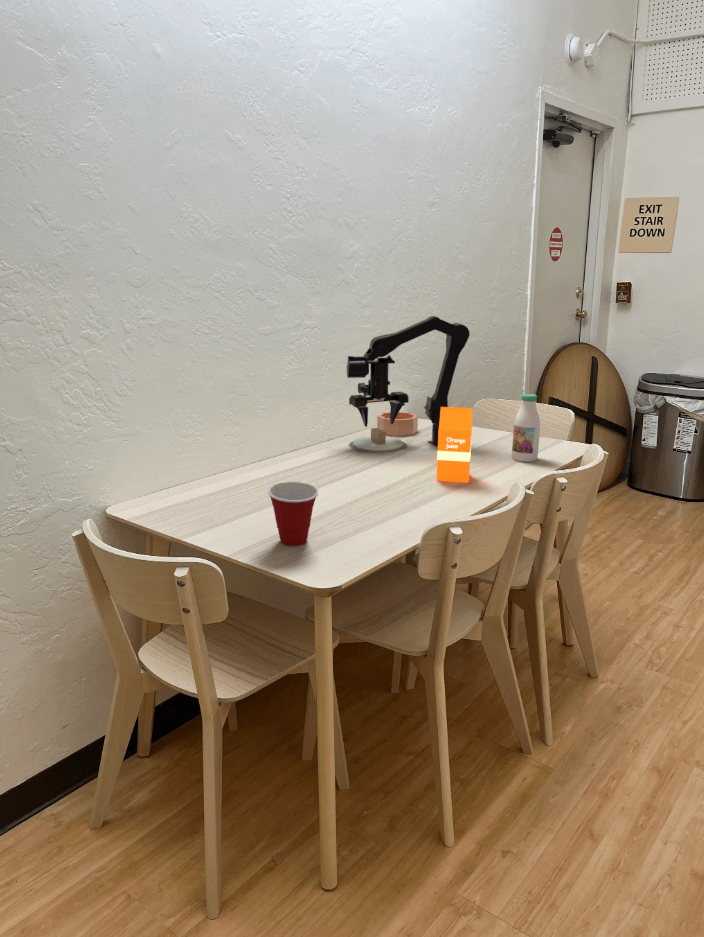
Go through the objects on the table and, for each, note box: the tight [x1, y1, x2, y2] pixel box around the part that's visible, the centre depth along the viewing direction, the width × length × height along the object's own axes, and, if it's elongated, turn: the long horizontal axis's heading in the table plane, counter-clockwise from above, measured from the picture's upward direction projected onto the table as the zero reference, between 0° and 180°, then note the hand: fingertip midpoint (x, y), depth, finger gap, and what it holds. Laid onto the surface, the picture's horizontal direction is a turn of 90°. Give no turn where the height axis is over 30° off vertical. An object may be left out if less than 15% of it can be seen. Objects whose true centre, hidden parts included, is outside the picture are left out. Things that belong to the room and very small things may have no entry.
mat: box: [348, 440, 408, 454], centre depth 232 cm, size 19×19×1 cm
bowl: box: [376, 411, 419, 438], centre depth 249 cm, size 13×13×6 cm
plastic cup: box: [267, 481, 319, 547], centre depth 153 cm, size 11×11×12 cm
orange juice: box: [436, 406, 473, 483], centre depth 197 cm, size 8×9×20 cm
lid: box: [353, 427, 404, 451], centre depth 231 cm, size 16×16×5 cm
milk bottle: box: [511, 393, 541, 463], centre depth 215 cm, size 8×8×20 cm
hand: (378, 425), depth 230 cm, fingers open, 9 cm apart
